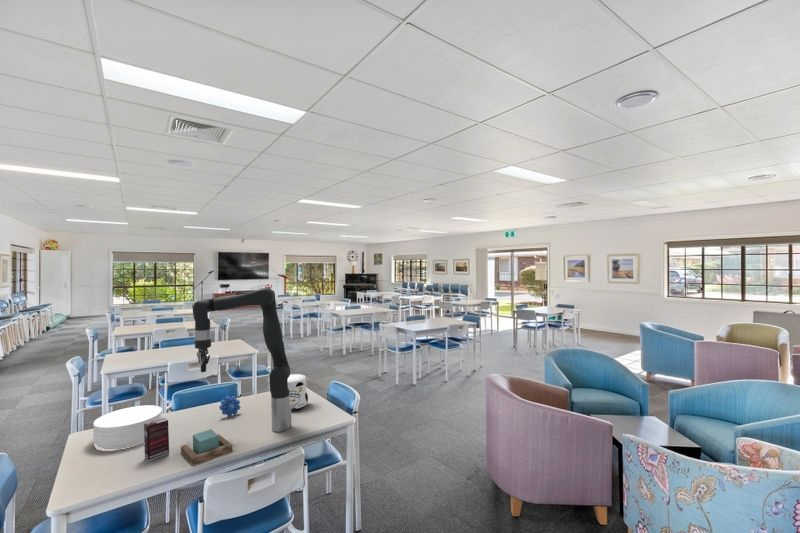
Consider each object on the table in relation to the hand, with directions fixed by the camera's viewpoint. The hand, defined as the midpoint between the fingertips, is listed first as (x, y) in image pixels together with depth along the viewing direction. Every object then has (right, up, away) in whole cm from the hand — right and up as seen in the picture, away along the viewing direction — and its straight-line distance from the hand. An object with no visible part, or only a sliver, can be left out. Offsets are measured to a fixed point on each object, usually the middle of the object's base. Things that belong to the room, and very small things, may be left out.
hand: (203, 371), depth 190 cm
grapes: (+4, -32, +21) cm, 39 cm away
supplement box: (-9, -32, -23) cm, 41 cm away
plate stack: (-36, -33, -3) cm, 49 cm away
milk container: (+37, -32, +34) cm, 60 cm away
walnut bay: (+12, -32, -20) cm, 39 cm away
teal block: (+12, -32, -20) cm, 39 cm away
